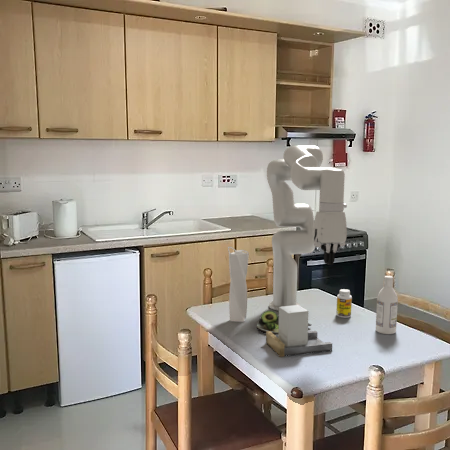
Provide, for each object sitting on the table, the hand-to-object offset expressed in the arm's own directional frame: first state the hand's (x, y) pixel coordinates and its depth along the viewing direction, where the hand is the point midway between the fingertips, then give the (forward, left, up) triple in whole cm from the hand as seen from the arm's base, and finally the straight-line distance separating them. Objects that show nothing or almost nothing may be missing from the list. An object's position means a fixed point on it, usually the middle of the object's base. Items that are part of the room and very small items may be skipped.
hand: (329, 264), depth 162 cm
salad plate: (-19, -9, -28) cm, 35 cm away
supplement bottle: (-24, +20, -27) cm, 41 cm away
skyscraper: (-31, -21, -27) cm, 46 cm away
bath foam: (-5, +26, -27) cm, 38 cm away
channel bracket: (0, -10, -27) cm, 29 cm away
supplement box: (0, -12, -27) cm, 29 cm away
